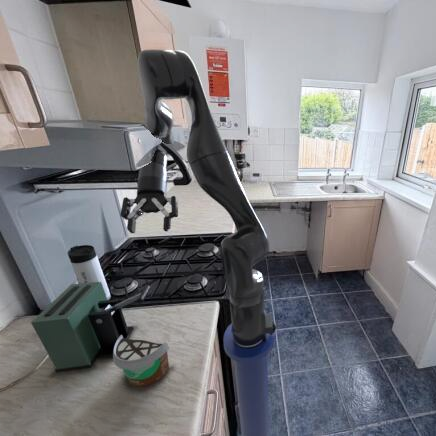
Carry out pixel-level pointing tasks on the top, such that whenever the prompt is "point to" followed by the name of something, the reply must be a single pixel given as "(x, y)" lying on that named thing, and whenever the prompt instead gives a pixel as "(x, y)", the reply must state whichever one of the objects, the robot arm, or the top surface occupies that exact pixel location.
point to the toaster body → (71, 327)
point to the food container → (141, 360)
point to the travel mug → (87, 266)
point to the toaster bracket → (109, 328)
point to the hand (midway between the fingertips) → (149, 231)
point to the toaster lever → (127, 301)
